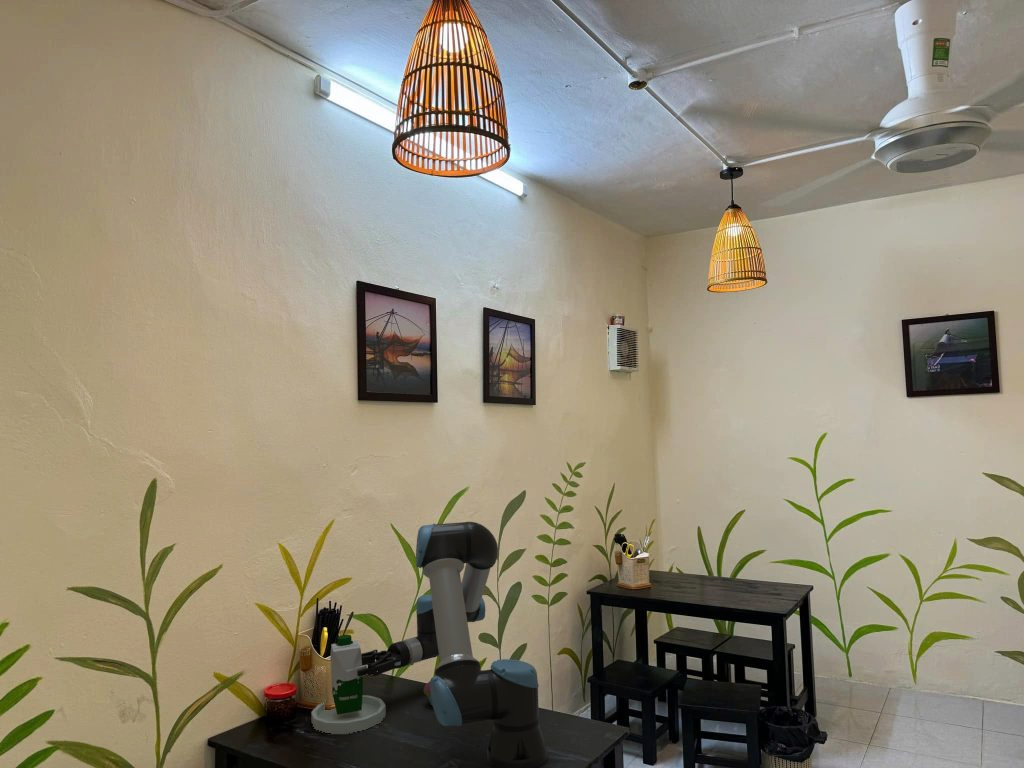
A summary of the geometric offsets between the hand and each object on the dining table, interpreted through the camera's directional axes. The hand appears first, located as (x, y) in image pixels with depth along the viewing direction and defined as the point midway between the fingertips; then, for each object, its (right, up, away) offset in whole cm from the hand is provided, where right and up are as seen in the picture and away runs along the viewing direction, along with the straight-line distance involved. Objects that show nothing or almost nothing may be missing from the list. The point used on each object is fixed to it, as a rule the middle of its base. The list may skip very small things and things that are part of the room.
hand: (339, 672), depth 205 cm
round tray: (+3, -14, +1) cm, 14 cm away
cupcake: (+28, -14, +10) cm, 32 cm away
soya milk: (+2, -11, +1) cm, 12 cm away
